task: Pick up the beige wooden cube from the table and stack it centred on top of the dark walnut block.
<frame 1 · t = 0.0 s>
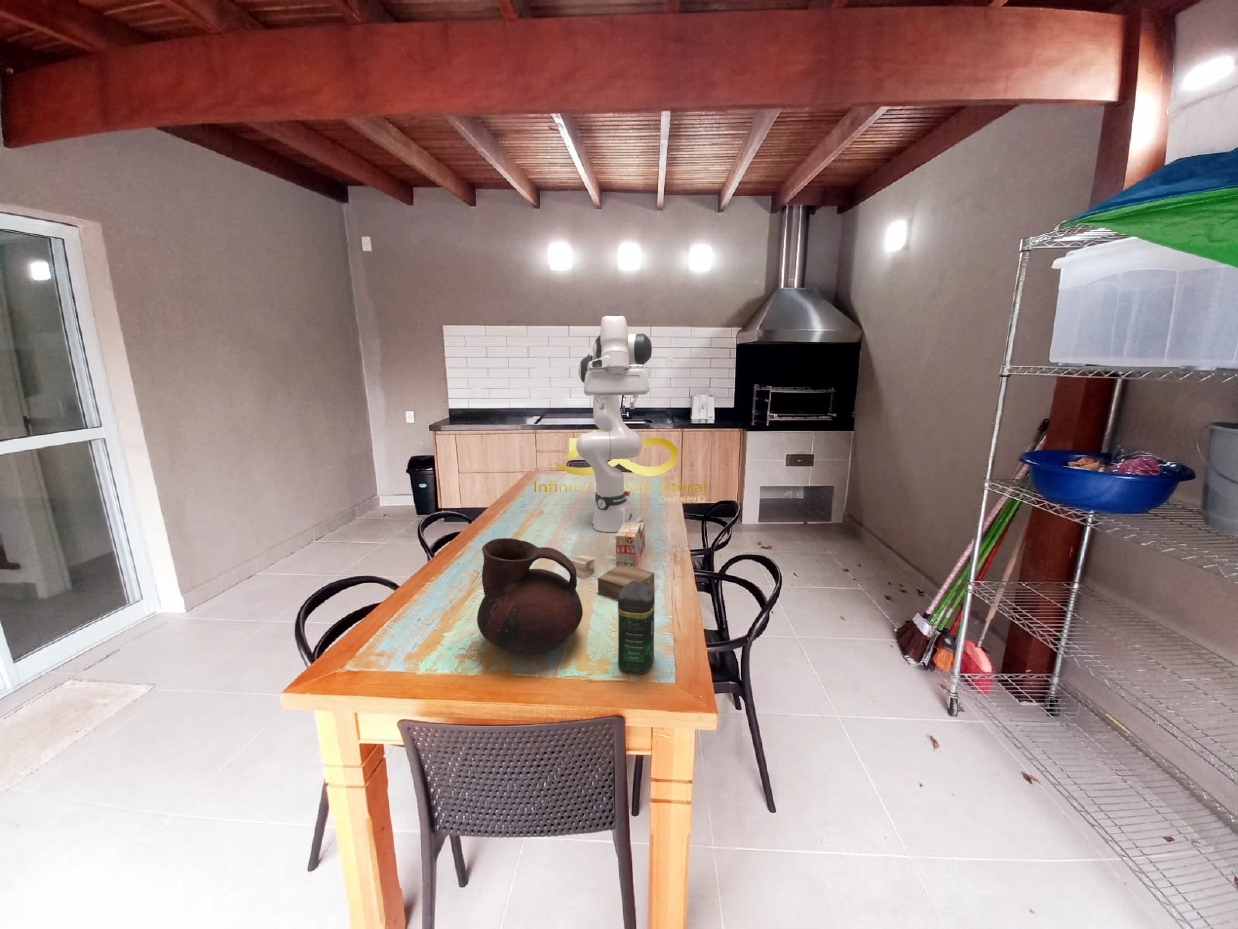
hand: (617, 408, 151), 52 cm above the table, tool tilted 20°, fingers open, 8 cm apart
stack of blocks: (631, 558, 169), on the table
jug: (532, 641, 121), on the table
walnut block: (626, 591, 145), on the table
coffee jar: (636, 663, 112), on the table
beige wooden cube: (583, 574, 157), on the table
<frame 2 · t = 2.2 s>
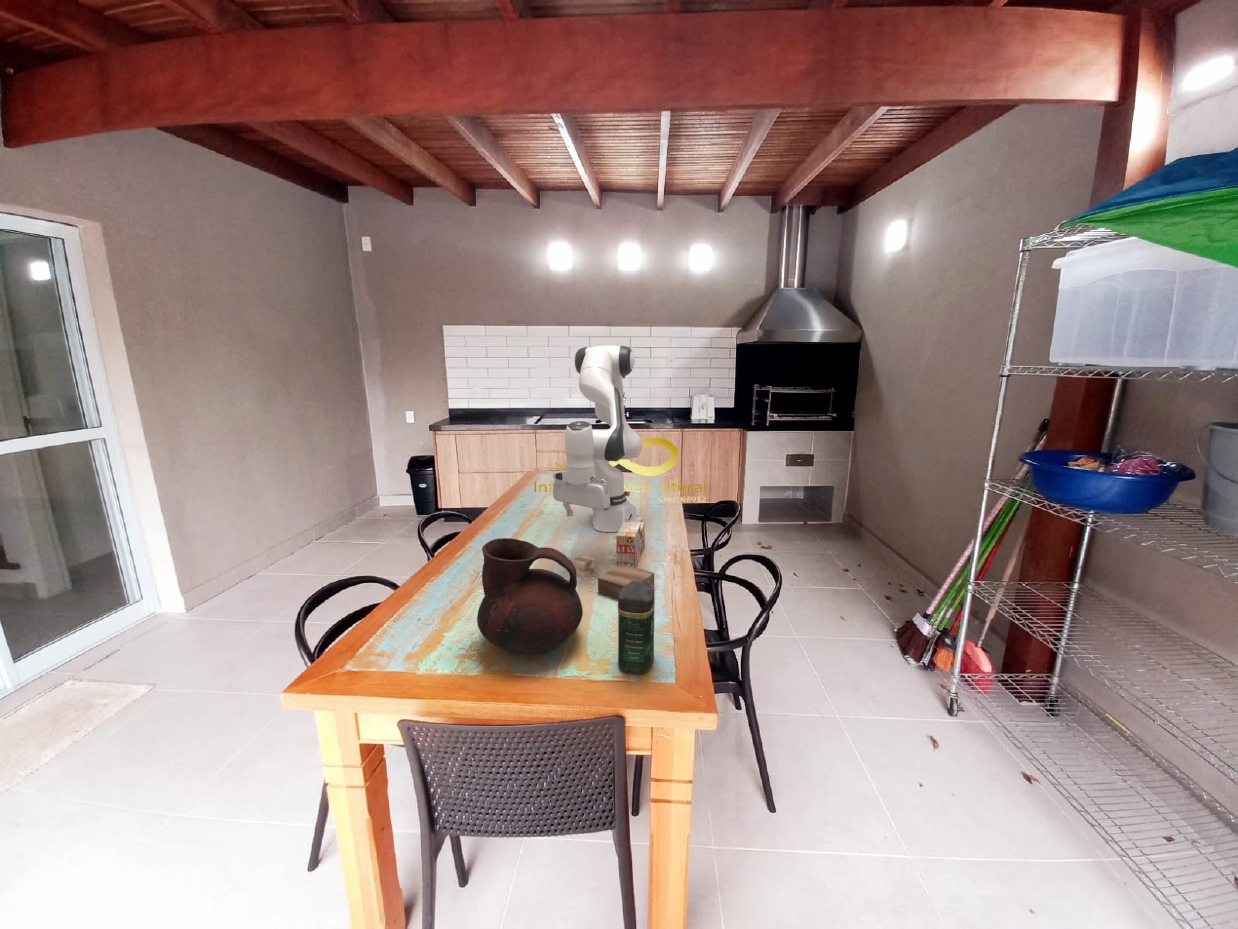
hand: (581, 518, 152), 19 cm above the table, tool pointing down, fingers open, 8 cm apart
nothing on the table moved.
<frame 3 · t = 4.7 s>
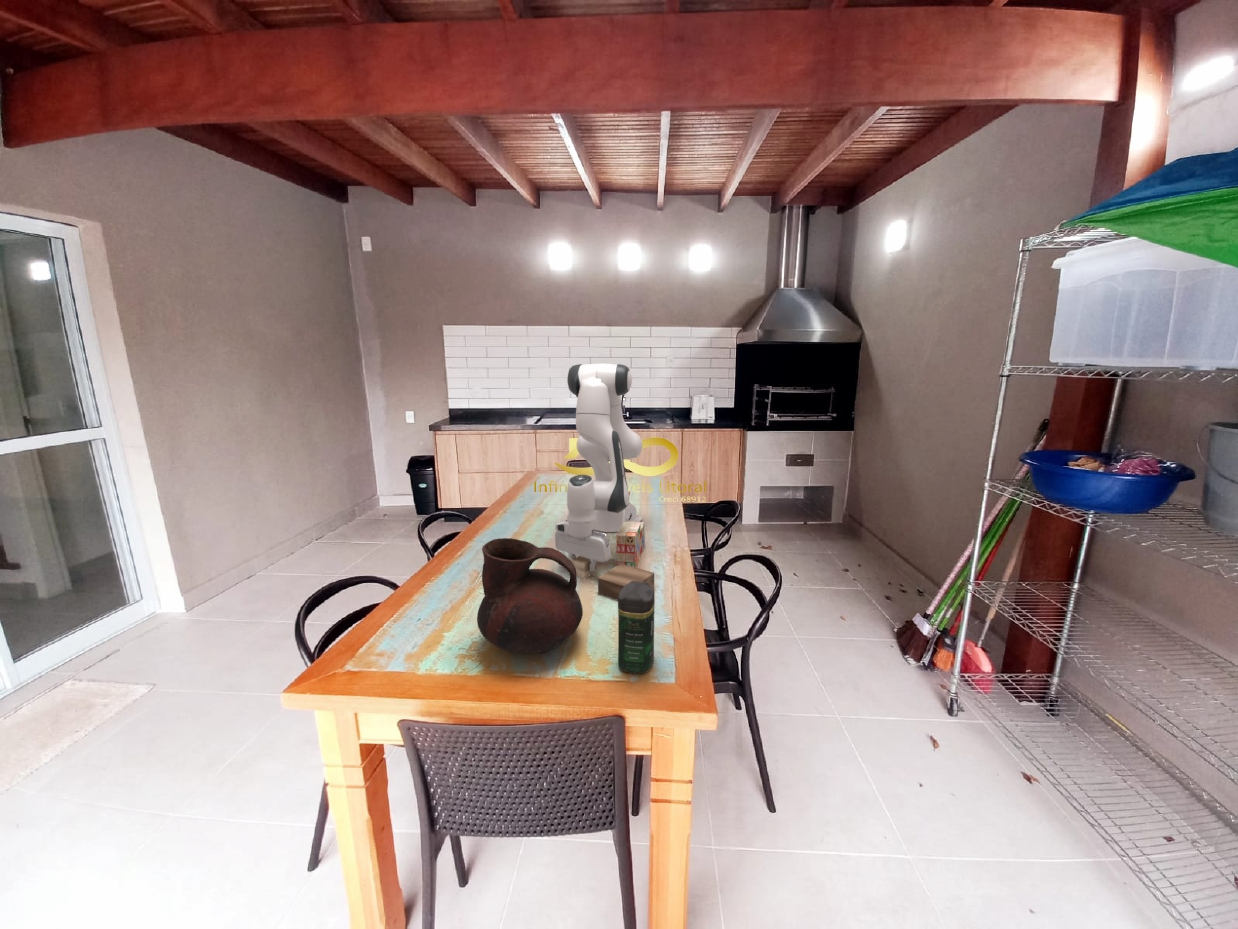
hand: (583, 568, 156), 2 cm above the table, tool pointing down, fingers closed on beige wooden cube, 5 cm apart
beige wooden cube: (583, 573, 157), on the table, touching gripper
everything else where it was.
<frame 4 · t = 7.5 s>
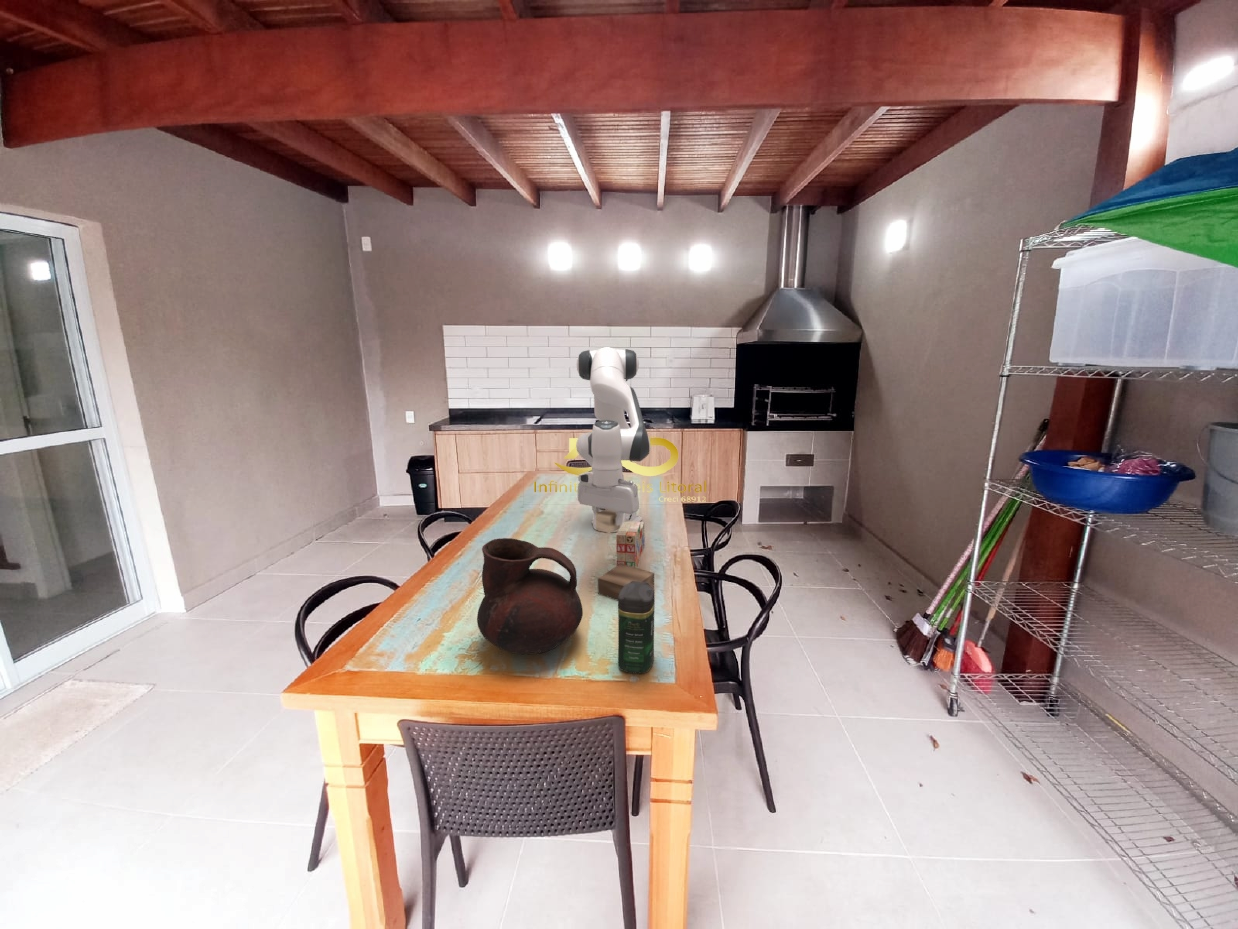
hand: (608, 522, 144), 20 cm above the table, tool pointing down, fingers closed on beige wooden cube, 5 cm apart
beige wooden cube: (607, 529, 145), point 18 cm above the table, touching gripper
everything else where it was.
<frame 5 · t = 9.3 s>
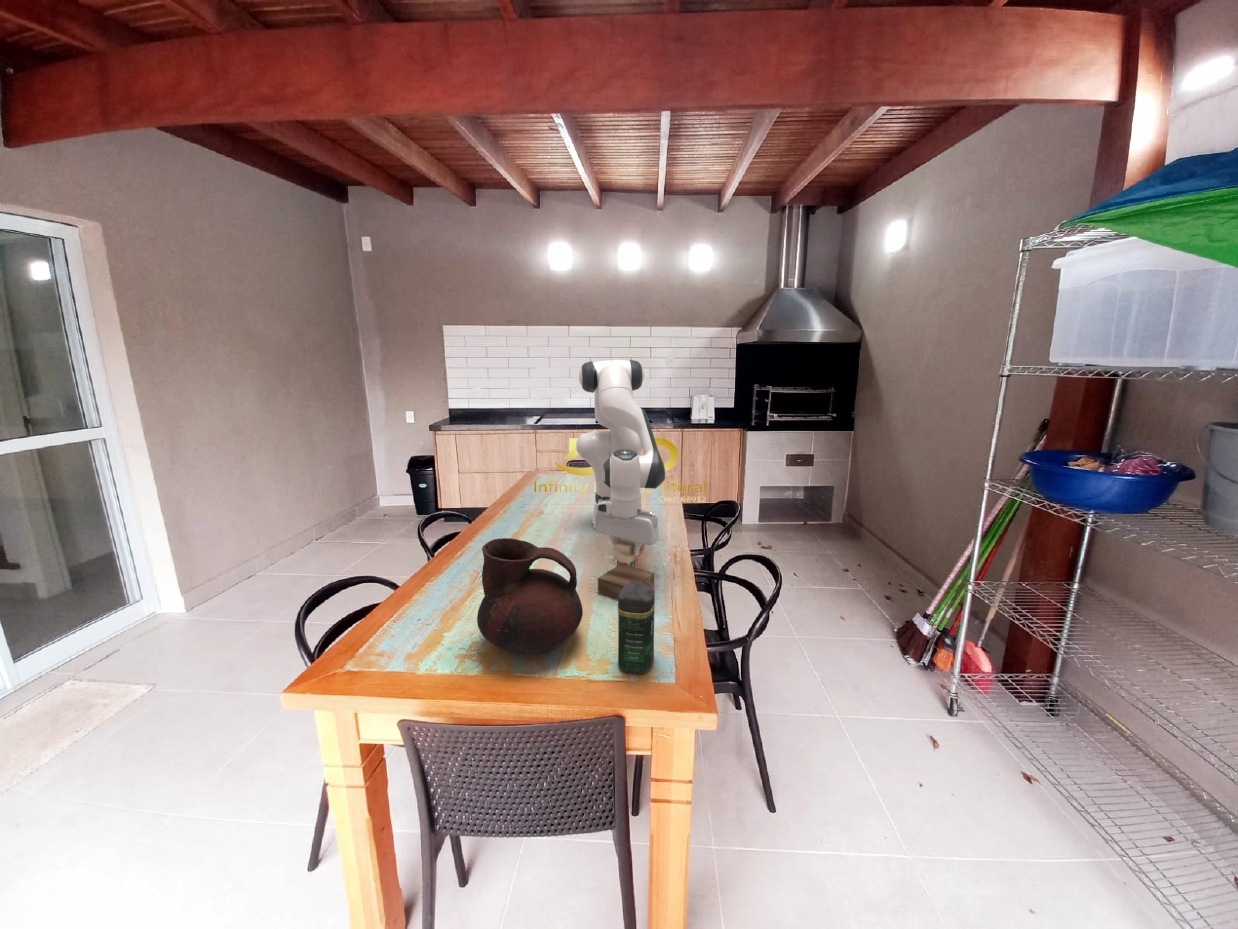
hand: (626, 552, 142), 12 cm above the table, tool pointing down, fingers closed on beige wooden cube, 5 cm apart
beige wooden cube: (626, 558, 142), point 10 cm above the table, touching gripper
when the fingers open (8 cm above the table, at t = 10.8 s): beige wooden cube drops 1 cm, resting on walnut block.
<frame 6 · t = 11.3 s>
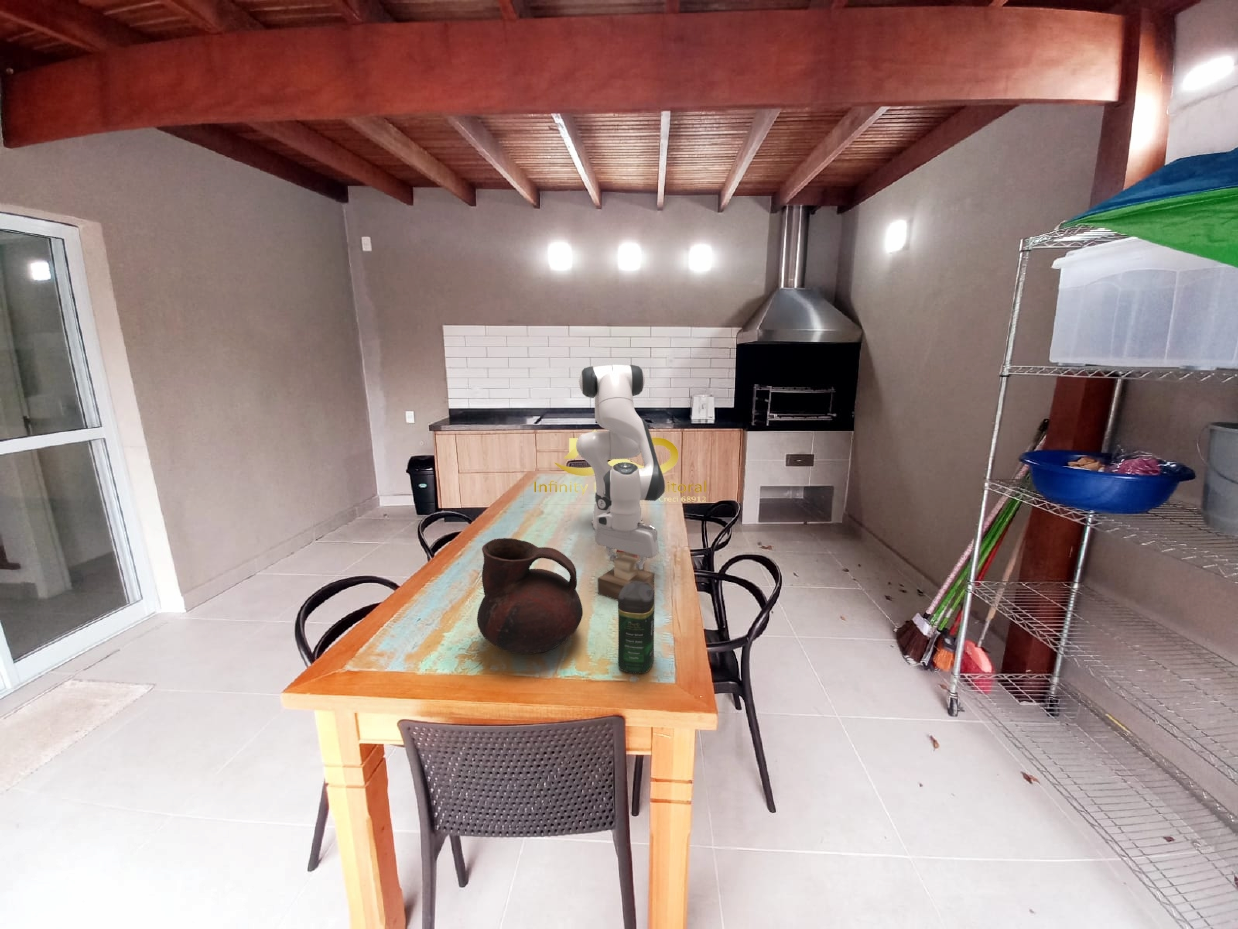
hand: (626, 564, 143), 8 cm above the table, tool pointing down, fingers open, 8 cm apart
beige wooden cube: (626, 575, 144), point 5 cm above the table, touching walnut block
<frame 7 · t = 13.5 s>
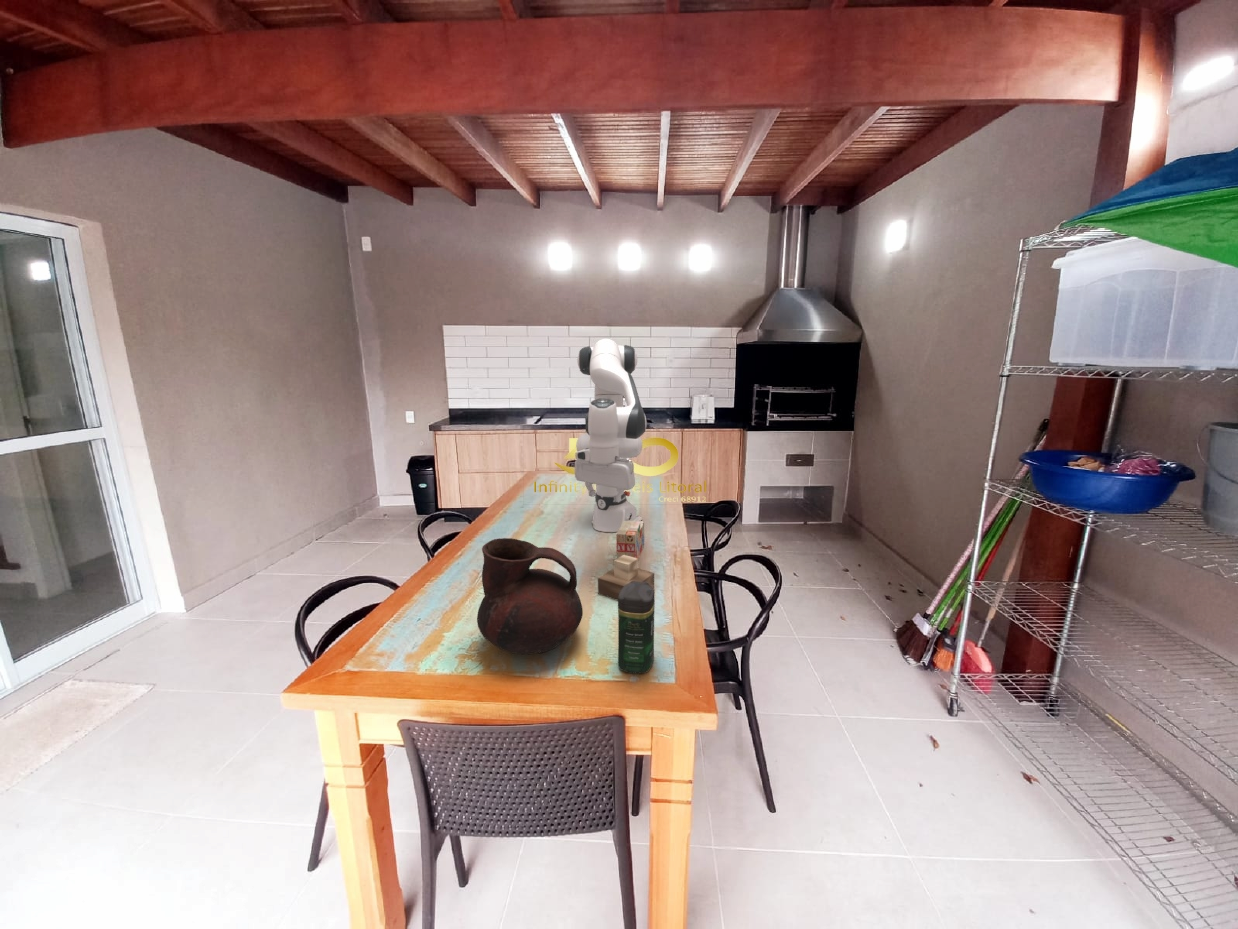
hand: (604, 498, 149), 26 cm above the table, tool pointing down, fingers open, 8 cm apart
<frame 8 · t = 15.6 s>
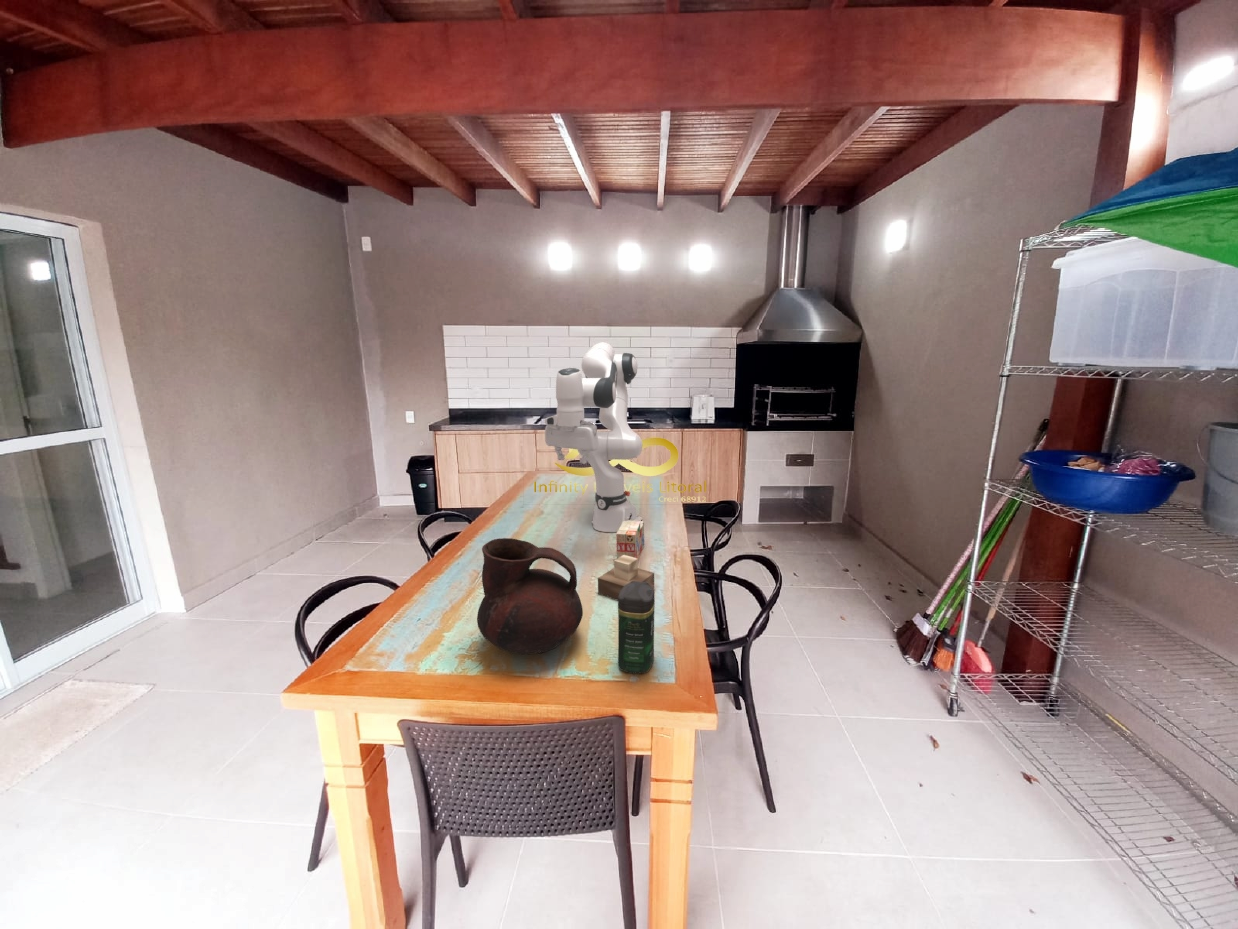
hand: (572, 461, 161), 34 cm above the table, tool pointing down, fingers open, 8 cm apart
at the end: beige wooden cube inside the target area on the walnut block (0.0 cm from its centre), point 5.0 cm above the walnut block's base; beige wooden cube tilted 0°; beige wooden cube touching walnut block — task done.
